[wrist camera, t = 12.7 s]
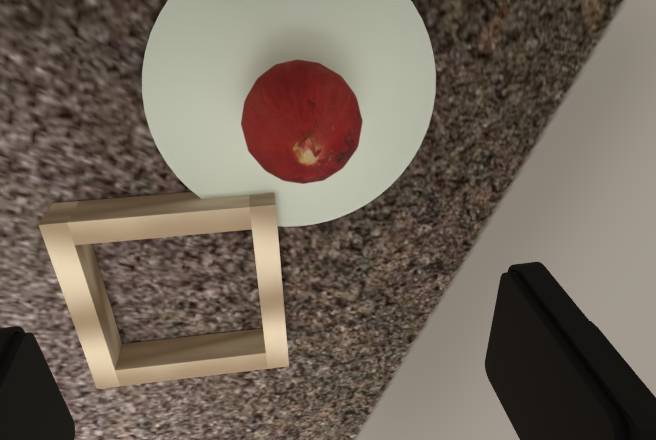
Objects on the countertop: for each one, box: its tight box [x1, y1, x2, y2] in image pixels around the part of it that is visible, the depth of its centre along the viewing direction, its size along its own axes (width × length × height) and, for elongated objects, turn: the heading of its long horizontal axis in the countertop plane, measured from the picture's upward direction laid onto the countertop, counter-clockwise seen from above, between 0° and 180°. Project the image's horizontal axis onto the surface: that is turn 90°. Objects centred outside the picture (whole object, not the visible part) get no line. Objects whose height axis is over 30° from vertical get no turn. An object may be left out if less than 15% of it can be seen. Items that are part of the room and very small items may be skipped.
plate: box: [142, 0, 436, 227], centre depth 29 cm, size 16×16×1 cm
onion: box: [241, 59, 363, 184], centre depth 25 cm, size 6×6×8 cm
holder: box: [39, 192, 289, 389], centre depth 34 cm, size 13×13×2 cm
